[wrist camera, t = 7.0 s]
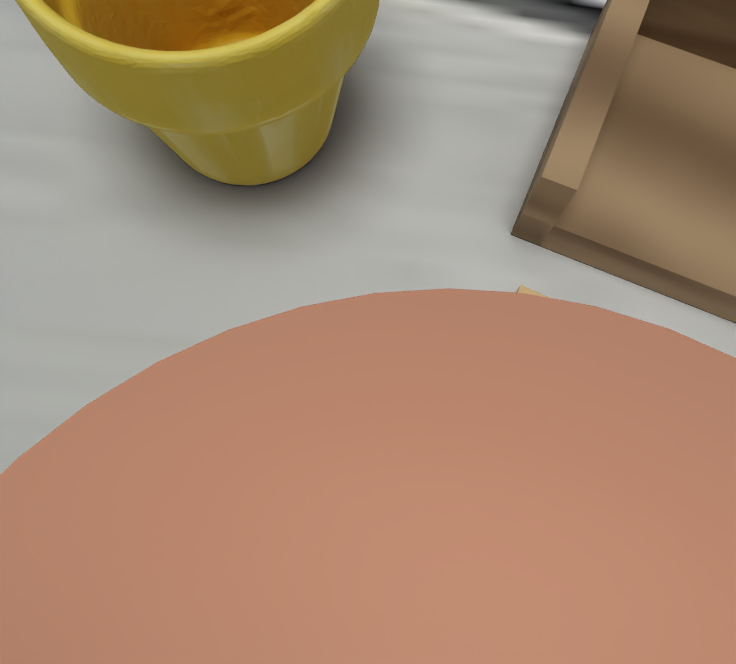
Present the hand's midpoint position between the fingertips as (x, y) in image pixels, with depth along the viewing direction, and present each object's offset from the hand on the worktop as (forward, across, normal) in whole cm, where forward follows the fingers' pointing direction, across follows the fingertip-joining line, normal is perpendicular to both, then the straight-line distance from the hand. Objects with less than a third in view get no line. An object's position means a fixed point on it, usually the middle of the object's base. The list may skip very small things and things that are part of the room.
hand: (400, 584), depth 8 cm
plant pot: (+21, +8, 0) cm, 22 cm away
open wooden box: (+21, -10, -1) cm, 23 cm away
